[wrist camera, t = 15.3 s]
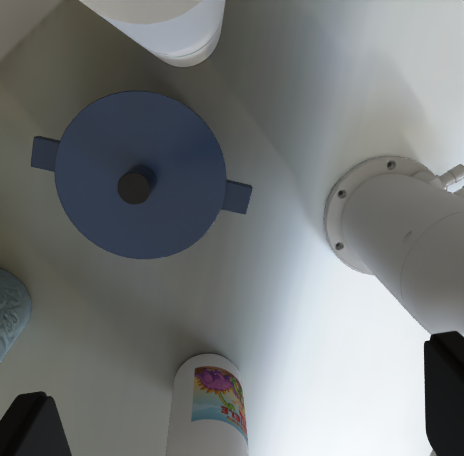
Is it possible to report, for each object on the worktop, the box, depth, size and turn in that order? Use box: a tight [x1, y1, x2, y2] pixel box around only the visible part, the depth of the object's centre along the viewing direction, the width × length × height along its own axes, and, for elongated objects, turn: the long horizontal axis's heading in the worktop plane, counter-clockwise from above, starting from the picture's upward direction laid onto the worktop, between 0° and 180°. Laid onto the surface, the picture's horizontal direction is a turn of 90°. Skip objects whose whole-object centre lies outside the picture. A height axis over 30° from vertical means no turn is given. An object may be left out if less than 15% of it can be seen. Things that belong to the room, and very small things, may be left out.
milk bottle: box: [166, 354, 248, 456], centre depth 41 cm, size 8×8×20 cm
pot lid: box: [55, 91, 226, 259], centre depth 33 cm, size 13×13×4 cm
